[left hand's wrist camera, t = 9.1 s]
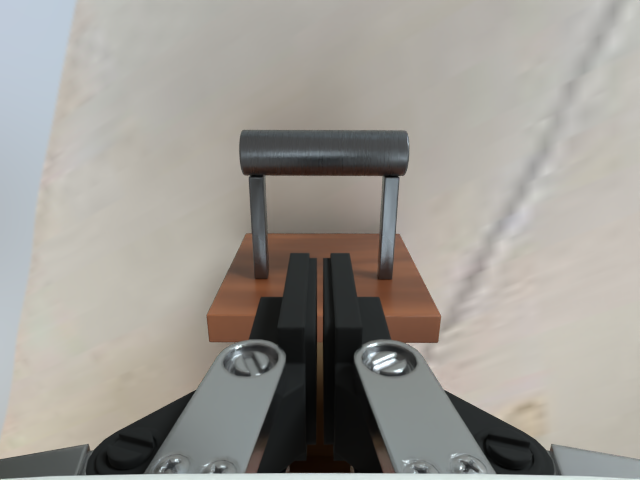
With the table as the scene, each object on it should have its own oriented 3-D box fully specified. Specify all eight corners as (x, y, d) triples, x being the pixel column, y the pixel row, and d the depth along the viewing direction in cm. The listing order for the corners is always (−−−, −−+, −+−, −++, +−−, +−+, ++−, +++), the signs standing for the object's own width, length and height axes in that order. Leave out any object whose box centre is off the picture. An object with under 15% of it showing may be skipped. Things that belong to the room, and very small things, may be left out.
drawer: (238, 117, 22) (187, 141, 14) (408, 118, 22) (462, 142, 14) (259, 450, 30) (235, 596, 21) (383, 451, 30) (408, 596, 21)
